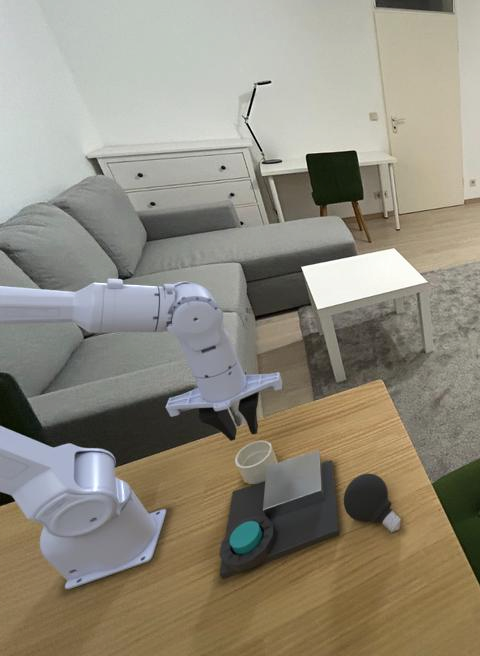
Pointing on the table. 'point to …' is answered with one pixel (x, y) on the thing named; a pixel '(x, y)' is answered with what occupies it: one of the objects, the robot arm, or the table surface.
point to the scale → (278, 526)
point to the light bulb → (370, 501)
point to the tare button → (246, 537)
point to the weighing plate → (293, 485)
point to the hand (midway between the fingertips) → (244, 432)
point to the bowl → (255, 461)
